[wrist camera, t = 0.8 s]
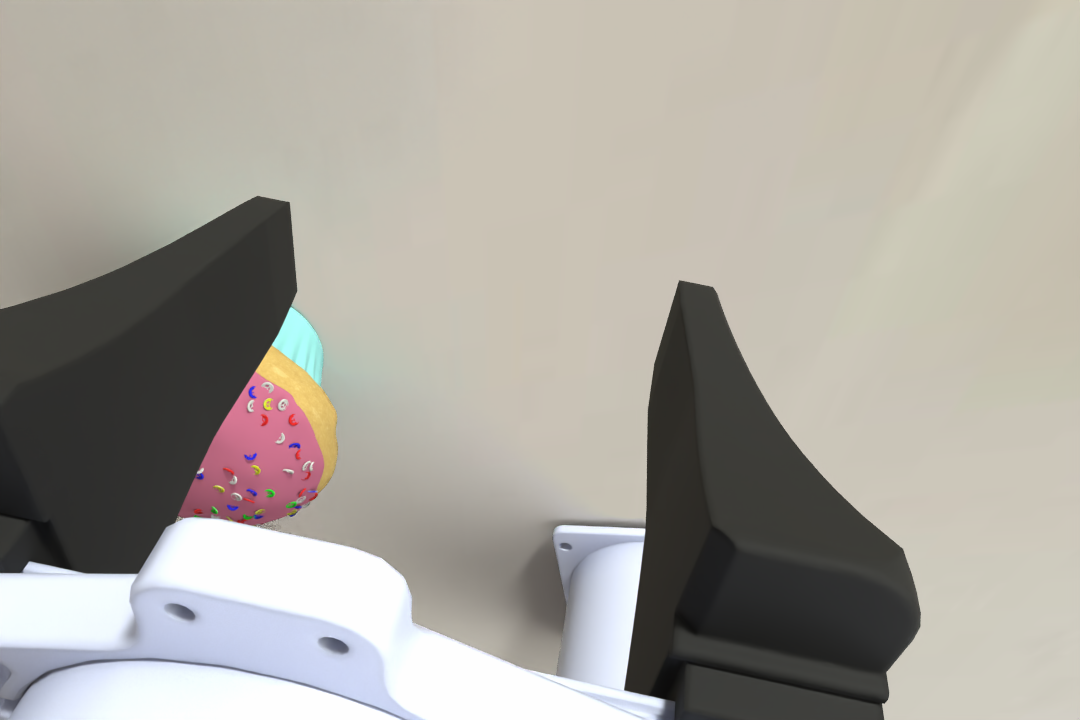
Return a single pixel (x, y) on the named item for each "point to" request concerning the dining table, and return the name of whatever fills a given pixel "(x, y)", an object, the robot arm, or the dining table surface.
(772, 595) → the robot arm
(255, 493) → the cupcake
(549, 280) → the dining table surface
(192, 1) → the dining table surface
